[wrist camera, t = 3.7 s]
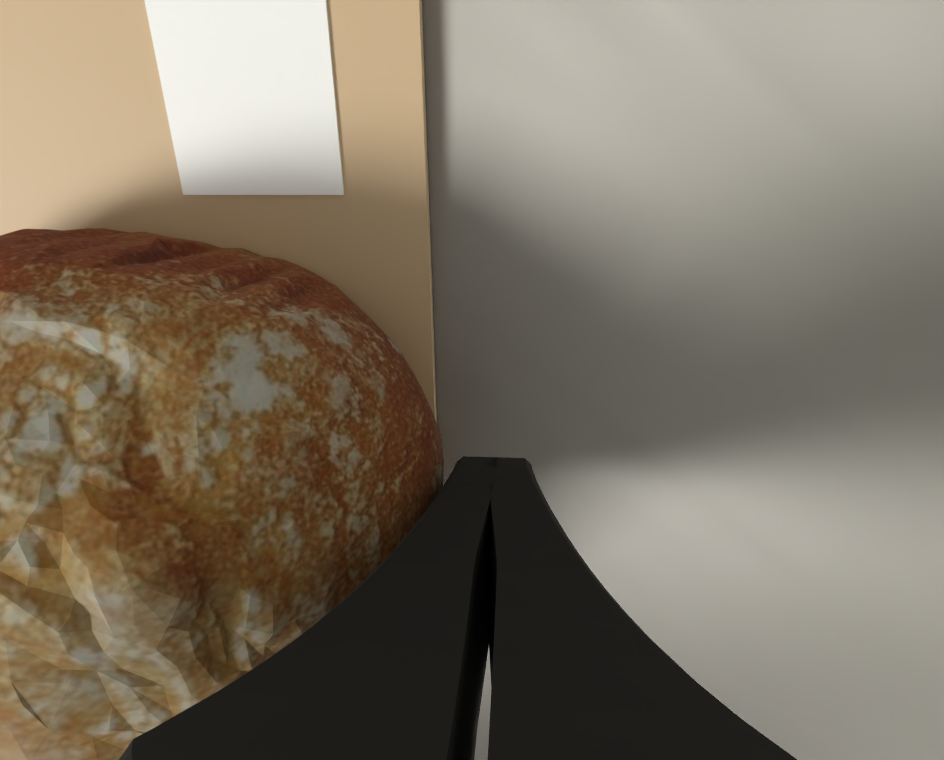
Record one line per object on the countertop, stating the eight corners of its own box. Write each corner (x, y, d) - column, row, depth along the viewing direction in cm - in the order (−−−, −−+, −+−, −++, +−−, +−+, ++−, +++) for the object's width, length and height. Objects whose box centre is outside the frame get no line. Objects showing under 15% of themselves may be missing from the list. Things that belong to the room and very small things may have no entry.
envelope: (444, 640, 15) (442, 652, 14) (56, 622, 15) (47, 633, 15) (413, -223, 8) (409, -237, 8) (-267, -194, 9) (-297, -206, 8)
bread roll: (319, 557, 18) (373, 868, 12) (-141, 539, 13) (-471, 1068, 7) (448, 263, 14) (630, 498, 8) (-143, 72, 9) (-945, 313, 3)
